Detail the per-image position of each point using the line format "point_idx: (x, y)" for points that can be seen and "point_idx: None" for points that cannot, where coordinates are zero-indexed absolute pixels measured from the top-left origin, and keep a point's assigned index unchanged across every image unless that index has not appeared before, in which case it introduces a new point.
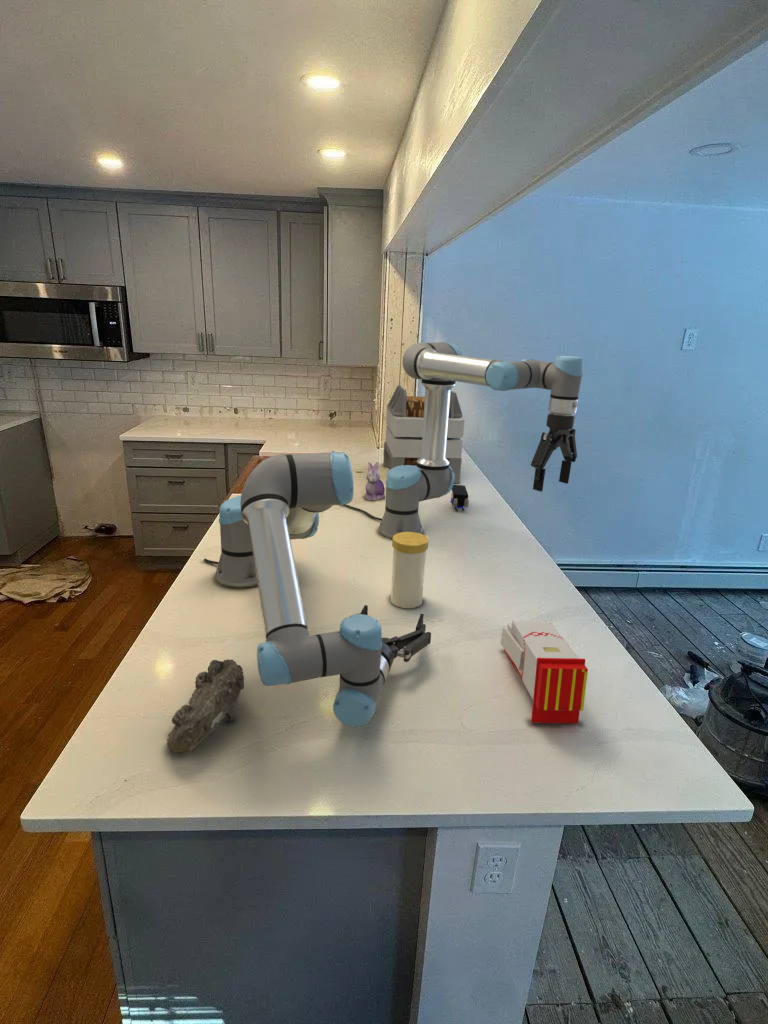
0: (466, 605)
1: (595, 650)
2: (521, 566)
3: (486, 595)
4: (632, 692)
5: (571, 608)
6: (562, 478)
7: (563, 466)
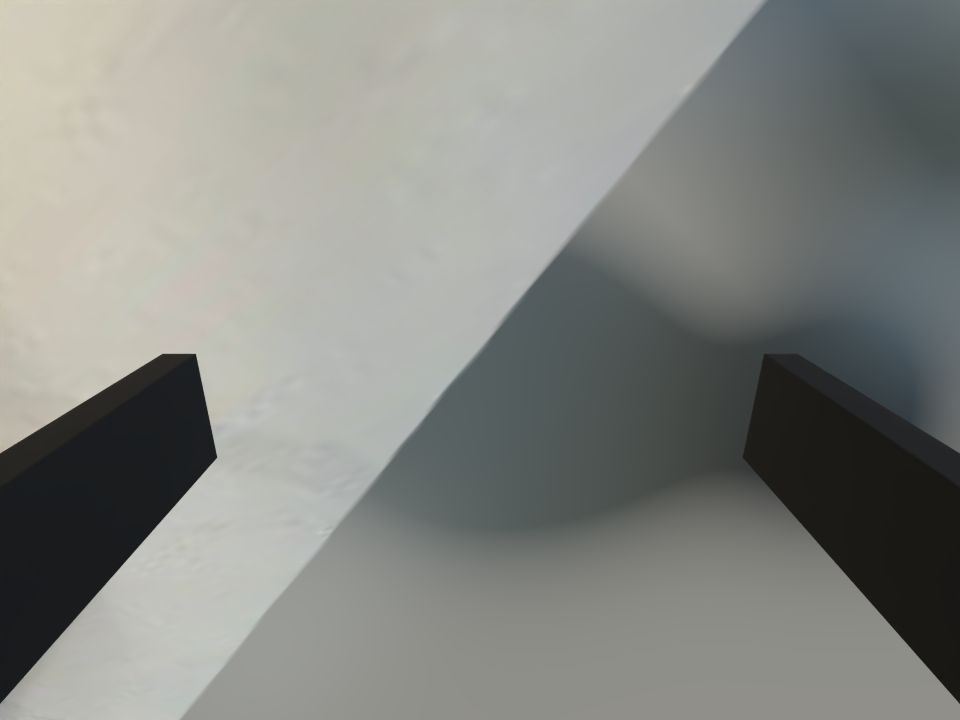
0: (20, 237)
1: (212, 592)
2: (475, 153)
3: (141, 233)
4: (153, 689)
5: (342, 459)
6: (784, 418)
7: (921, 519)
